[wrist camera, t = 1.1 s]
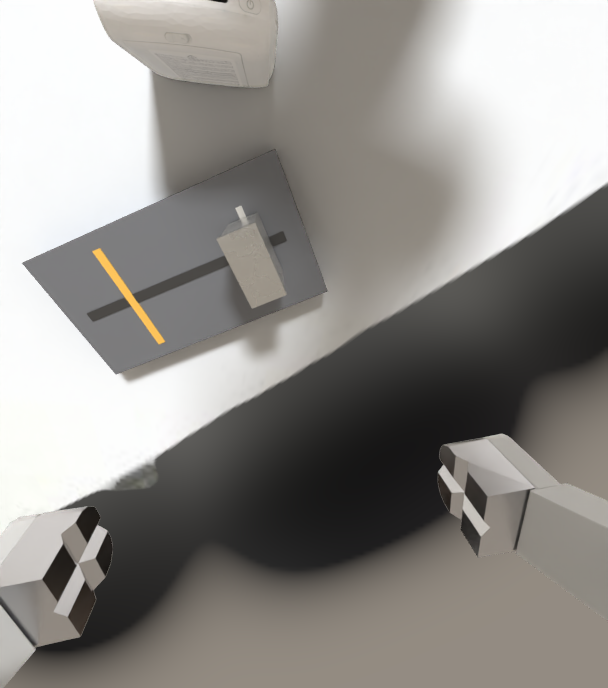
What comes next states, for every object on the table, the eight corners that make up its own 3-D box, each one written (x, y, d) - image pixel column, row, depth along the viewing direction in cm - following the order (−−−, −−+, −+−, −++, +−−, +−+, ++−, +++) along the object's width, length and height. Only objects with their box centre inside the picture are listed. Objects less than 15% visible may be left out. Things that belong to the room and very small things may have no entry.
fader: (258, 210, 30) (255, 222, 25) (284, 271, 33) (286, 294, 28) (226, 223, 31) (216, 239, 25) (255, 283, 34) (251, 308, 28)
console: (274, 149, 31) (275, 148, 28) (323, 282, 38) (327, 291, 35) (41, 254, 34) (21, 263, 31) (125, 360, 41) (115, 375, 38)
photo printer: (277, 28, 27) (280, -57, 16) (275, 93, 29) (277, 56, 18) (144, 11, 26) (55, -92, 15) (153, 80, 28) (79, 33, 17)
